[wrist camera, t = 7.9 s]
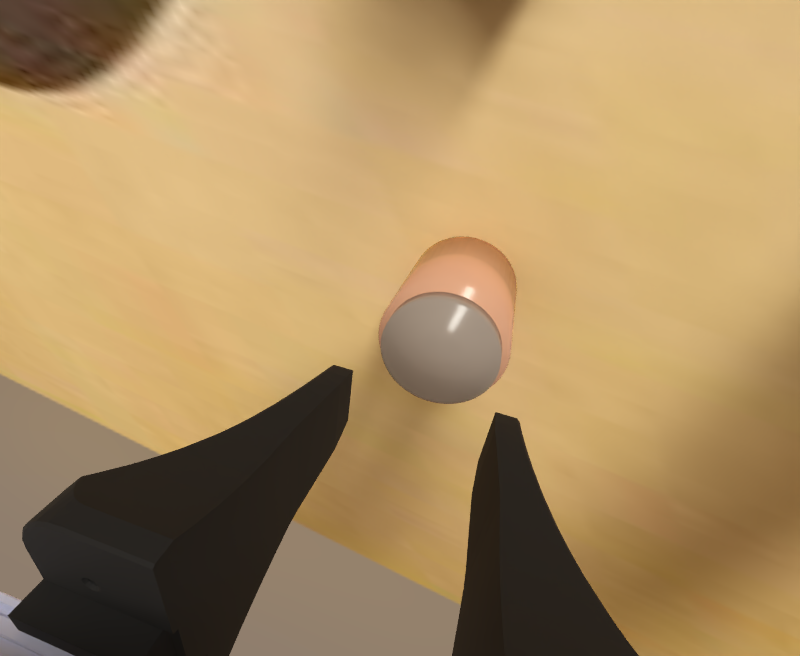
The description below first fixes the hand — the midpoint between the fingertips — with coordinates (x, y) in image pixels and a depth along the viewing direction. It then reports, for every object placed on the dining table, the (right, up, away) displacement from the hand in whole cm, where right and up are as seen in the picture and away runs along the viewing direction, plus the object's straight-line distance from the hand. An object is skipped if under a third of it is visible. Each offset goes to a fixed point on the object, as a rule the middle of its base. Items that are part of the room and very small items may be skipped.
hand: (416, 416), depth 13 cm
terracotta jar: (+3, +5, +8) cm, 10 cm away
